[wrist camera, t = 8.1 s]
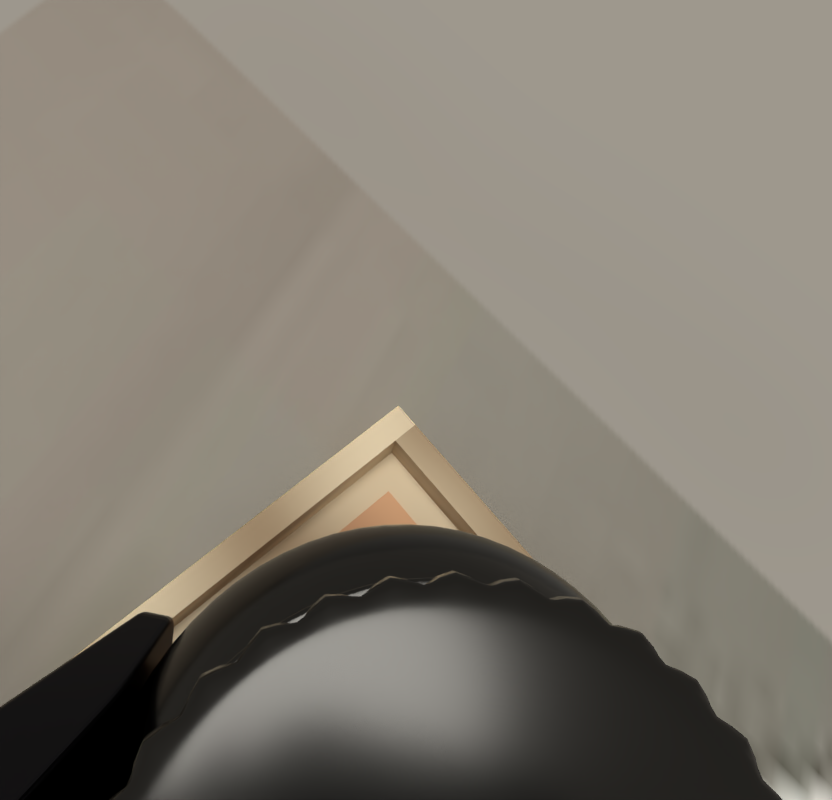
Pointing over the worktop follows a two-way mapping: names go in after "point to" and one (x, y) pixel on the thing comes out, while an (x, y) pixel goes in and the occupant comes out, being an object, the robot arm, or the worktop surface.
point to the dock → (337, 513)
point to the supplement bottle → (419, 688)
